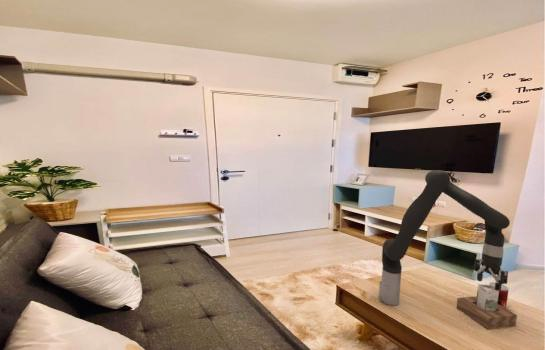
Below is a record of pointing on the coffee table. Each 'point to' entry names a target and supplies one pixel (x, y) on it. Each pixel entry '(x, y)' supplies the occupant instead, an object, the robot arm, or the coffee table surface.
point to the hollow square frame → (486, 314)
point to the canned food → (502, 295)
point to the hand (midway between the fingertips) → (488, 285)
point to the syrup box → (487, 298)
